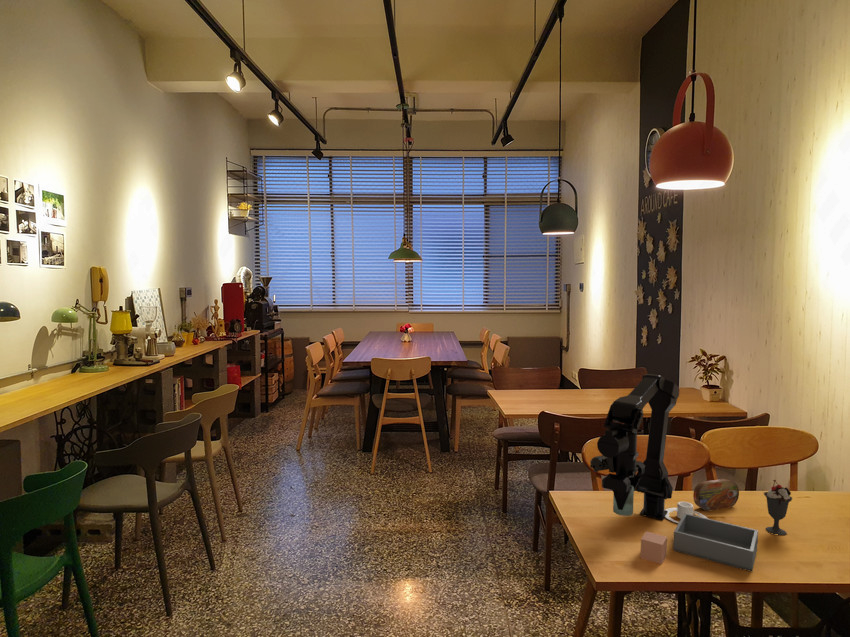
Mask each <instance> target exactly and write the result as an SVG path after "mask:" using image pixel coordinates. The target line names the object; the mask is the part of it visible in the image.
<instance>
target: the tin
mask: <svg viewBox="0 0 850 637" xmlns="http://www.w3.org/2000/svg"><path fill="white" fill-rule="evenodd" d="M739 496H740V490H739V487H738V485H737V484H736V482H734V481H732V480H729V479H726V478H719V479H713V480H706V481H705V480H704V481H700V482H699V483H698V484H696V486H695V487H694V489H693V496H692V497H693V502H694V504H695V505H696V506H697V507H698V508H699V509H702V510H704V511H706V512H710V511H709V510H712V511H718V510H723V509H724V508H725V509H730V508H732V507H733V506H736V503H738V500H739ZM717 509H718V510H717Z"/></svg>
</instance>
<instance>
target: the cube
mask: <svg viewBox="0 0 850 637" xmlns="http://www.w3.org/2000/svg"><path fill="white" fill-rule="evenodd" d="M640 538H641V539H640V559H642V560H646V561H648V562H653V563H656V564H659V563H660V564H659V565H662V564H663V563H664V561H665V559H666V557H667V552H668V550H667V548H668V536H665V535H661V534H657V533H653V532H650V531H645V532H644V534H643V535H642V536H641V537H640Z"/></svg>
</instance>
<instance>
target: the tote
mask: <svg viewBox="0 0 850 637" xmlns="http://www.w3.org/2000/svg"><path fill="white" fill-rule="evenodd" d="M707 518H708V517H707ZM707 518H703V517H699V516H697V515H695V514H693V515H690V514H686V513H684V515H683V516H682V518H681V519H680V520H679V521H678V522H679V523H677V525H676V527H675V528H674V531H673V541H672V542H673V543H672V545H673V546H672V551H675V552H677V553H680V554H681V553H682V554H685V555H688V556H693V557H695V558H700V559H704V560H707V561H711V562H714V563H718V564H721V565H725V566H728V567H732V568H733V567H734V568H737V569H740V568H741V570H743V569H746V570H745V571H747V570H750V571H749V572H751V571H752V572H753V570H754V566H753V565H755V561H756V557H757V553H756V552H757V551H758V538H759V530H758V529H755V528H749V527H746V526H741V525H737V524H732V523H729V522H724V521H720V520H715V519H712V518H711V519H710V518H708V519H707Z"/></svg>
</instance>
